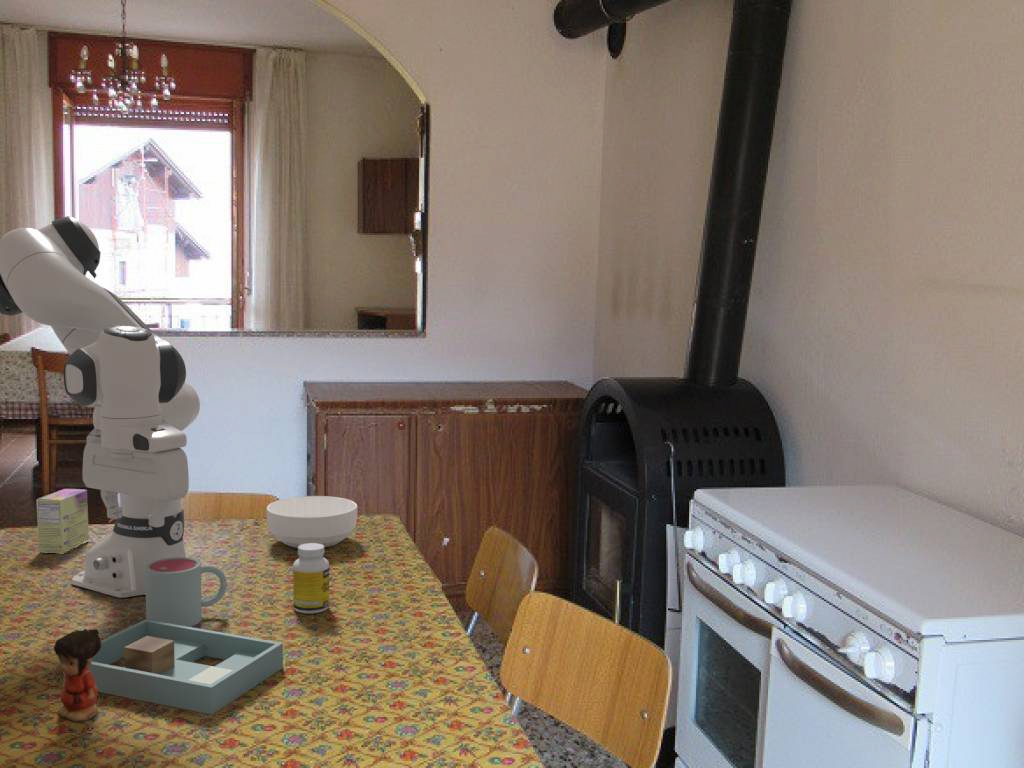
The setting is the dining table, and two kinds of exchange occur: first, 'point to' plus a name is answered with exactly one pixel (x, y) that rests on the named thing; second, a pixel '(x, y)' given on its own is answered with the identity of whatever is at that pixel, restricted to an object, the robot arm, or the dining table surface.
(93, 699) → the figurine
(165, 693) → the tray
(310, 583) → the pill bottle
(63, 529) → the box
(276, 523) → the bowl
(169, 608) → the mug
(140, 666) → the block
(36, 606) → the dining table surface
